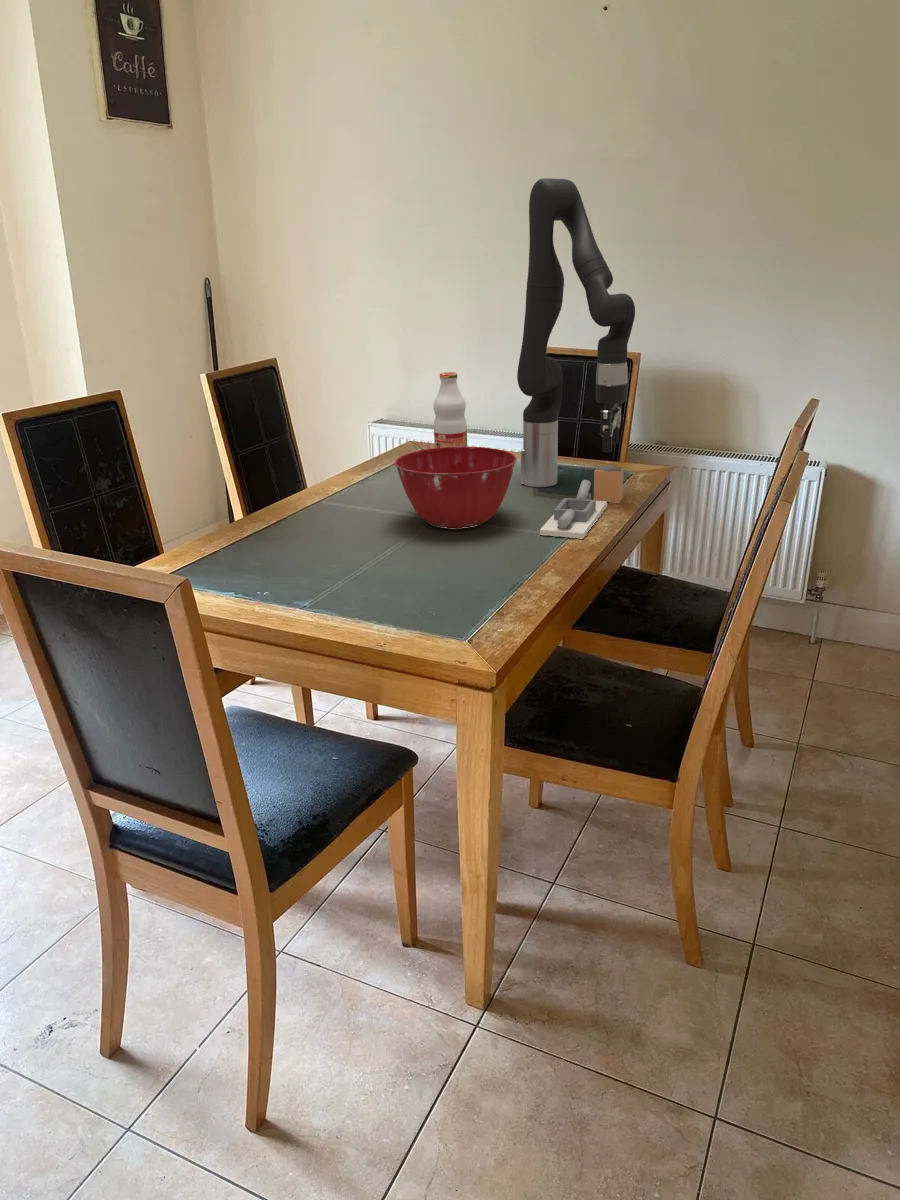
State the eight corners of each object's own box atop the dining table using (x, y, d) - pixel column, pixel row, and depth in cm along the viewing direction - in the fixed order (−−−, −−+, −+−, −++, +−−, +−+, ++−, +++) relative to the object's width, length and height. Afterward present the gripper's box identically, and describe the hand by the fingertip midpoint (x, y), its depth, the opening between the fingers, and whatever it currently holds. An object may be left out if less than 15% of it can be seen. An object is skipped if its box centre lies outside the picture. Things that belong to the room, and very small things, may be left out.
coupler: (593, 502, 228) (594, 467, 224) (596, 497, 231) (597, 463, 228) (619, 503, 226) (620, 469, 222) (622, 499, 229) (623, 465, 226)
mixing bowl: (414, 503, 232) (411, 443, 226) (524, 506, 227) (524, 445, 221) (384, 538, 207) (380, 472, 201) (507, 542, 201) (507, 474, 195)
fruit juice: (474, 470, 261) (472, 372, 251) (454, 477, 254) (451, 376, 244) (449, 466, 267) (445, 370, 256) (428, 473, 260) (424, 374, 249)
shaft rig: (539, 536, 204) (539, 505, 201) (567, 504, 226) (567, 476, 224) (583, 539, 201) (584, 508, 198) (607, 507, 223) (607, 478, 220)
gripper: (602, 377, 225) (601, 441, 231) (590, 386, 212) (589, 454, 218) (632, 377, 222) (630, 442, 228) (621, 386, 210) (620, 455, 216)
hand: (610, 448), depth 223 cm, fingers open, 8 cm apart
